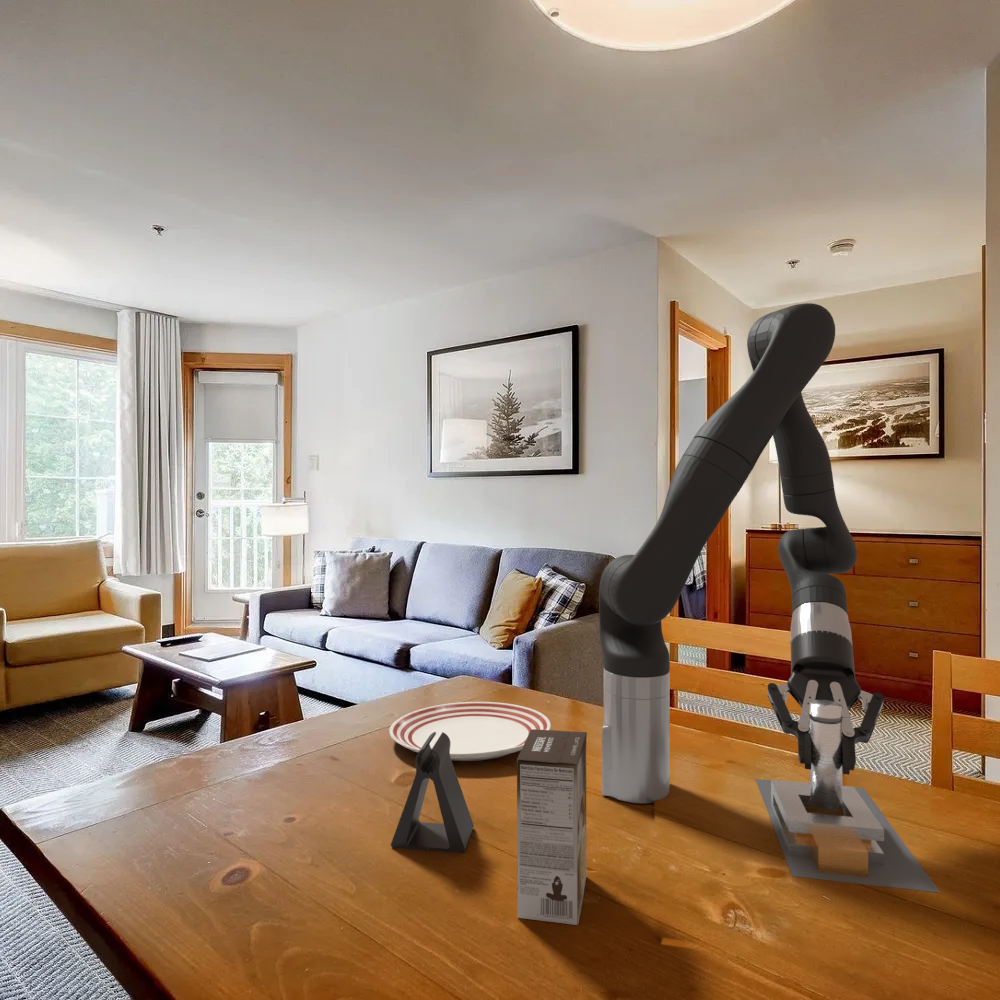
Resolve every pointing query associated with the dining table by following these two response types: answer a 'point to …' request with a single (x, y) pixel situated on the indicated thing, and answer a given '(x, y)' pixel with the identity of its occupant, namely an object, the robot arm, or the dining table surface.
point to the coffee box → (551, 826)
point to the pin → (826, 754)
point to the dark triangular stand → (450, 801)
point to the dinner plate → (470, 728)
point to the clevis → (827, 829)
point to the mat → (894, 872)
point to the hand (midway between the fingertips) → (827, 768)
